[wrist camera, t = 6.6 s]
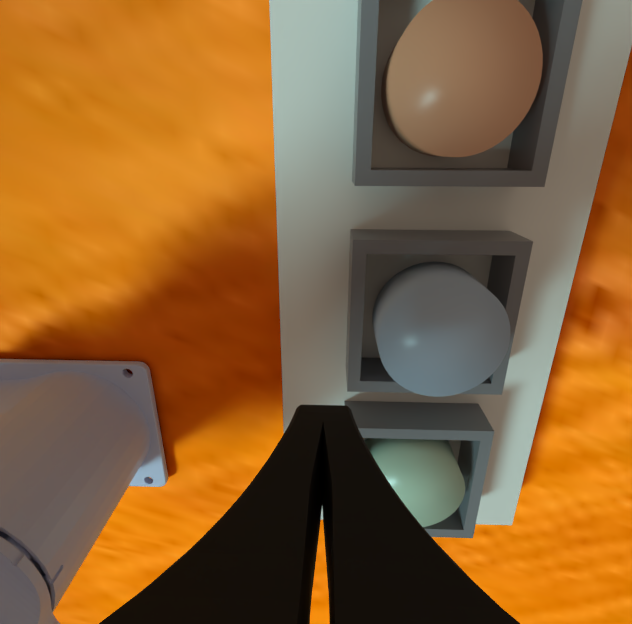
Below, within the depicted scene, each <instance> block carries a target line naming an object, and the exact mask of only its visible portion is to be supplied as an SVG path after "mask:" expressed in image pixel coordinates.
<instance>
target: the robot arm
mask: <svg viewBox="0 0 632 624" xmlns="http://www.w3.org/2000/svg"><path fill="white" fill-rule="evenodd" d="M126 369H130V370H131V371H132V373H133V374H130V373H128V372H127V370H126ZM149 477H151V478H152V479H151V478H149ZM167 480H168V472H167V466H166V460H165V454H164V448H163V443H162V437H161V431H160V425H159V419H158V414H157V408H156V402H155V396H154V390H153V385H152V379H151V373H150V369H149V367H148V366H147V364H145V363H143V362H139V361H89V360H36V359H0V624H60V623H59V622H58V621H57V619H56V618H55V616H54V615H53V611H54V610H55V608H56V606H57V605H58V603H59V601H60V600H61V598H62V596H63V595H64V593H65V591H66V590H67V588H68V586H69V585H70V583H71V581H72V580H73V578H74V576H75V575H76V573H77V571H78V570H79V568H80V566H81V565H82V563H83V561H84V560H85V558H86V556H87V555H88V553H89V551H90V550H91V548H92V546H93V545H94V543H95V541H96V540H97V538H98V536H99V535H100V533H101V531H102V530H103V528H104V526H105V525H106V523H107V521H108V520H109V518H110V516H111V515H112V513H113V511H114V510H115V508H116V506H117V505H118V503H119V501H120V500H121V498H122V496H123V495H124V493H125V491H126V490H127V488H128V486H151V487H161V486H164V485H165V484H166V482H167ZM322 508H323V522H324V535H325V549H326V562H327V576H328V589H329V611H330V624H520V623H519V622H518V621H516V620H515V619H514V618H513V617H512V616H510V615H509V614H508V613H507V612H506V611H504V610H503V609H502V608H501V607H500V606H499V605H498V604H497V603H496V602H495V601H493V600H492V599H491V598H490V597H489V596H488V595H487V594H486V593H485V592H484V591H483V590H482V589H481V588H480V587H479V586H478V585H476V584H475V583H474V582H473V581H472V580H471V579H470V578H469V577H468V576H467V574H466V573H465V572H464V571H463V570H462V569H461V568H460V567H459V566H458V565H457V564H456V563H455V562H454V561H453V560H452V559H451V558H450V557H449V556H448V555H447V554H446V553H445V552H444V551H443V550H442V548H441V547H440V546H439V545H438V544H437V543H436V542H435V541H434V540H433V539H432V537H431V536H430V535H429V534H428V533H427V532H426V530H425V529H424V528H423V527H422V526H421V525H420V523H419V522H418V521H417V520H416V518H415V517H414V516H413V515H412V513H411V512H410V511H409V510H408V508H407V507H406V506H405V504H404V503H403V502H402V500H401V499H400V498H399V496H398V495H397V493H396V492H395V491H394V489H393V488H392V486H391V485H390V483H389V482H388V480H387V479H386V477H385V476H384V474H383V472H382V471H381V469H380V468H379V466H378V464H377V463H376V461H375V459H374V458H373V456H372V454H371V452H370V451H369V449H368V447H367V445H366V443H365V441H364V439H363V437H362V435H361V433H360V431H359V429H358V427H357V425H356V422H355V420H354V417H353V414H352V411H351V409H350V408H349V407H348V406H345V405H299V406H298V407H297V408H296V410H295V413H294V415H293V418H292V420H291V422H290V424H289V426H288V428H287V429H286V431H285V433H284V435H283V437H282V438H281V440H280V441H279V443H278V445H277V446H276V448H275V449H274V451H273V453H272V454H271V456H270V457H269V459H268V460H267V462H266V463H265V464H264V466H263V467H262V469H261V470H260V471H259V473H258V474H257V475H256V477H255V478H254V480H253V481H252V482H251V484H250V485H249V486H248V487H247V489H246V490H245V491H244V492H243V494H242V495H241V496H240V497H239V498H238V500H237V501H236V502H235V503H234V504H233V505H232V506H231V508H230V509H229V510H228V511H227V512H226V513H225V514H224V515H223V517H222V518H221V519H220V520H219V521H218V522H217V523H216V524H215V525H214V526H213V527H212V528H211V529H210V530H209V531H208V532H207V533H206V534H205V535H204V536H203V537H202V538H201V539H200V540H199V541H198V542H197V543H196V544H195V545H194V546H193V547H192V548H191V549H190V550H189V551H188V552H186V553H185V554H184V555H183V556H182V557H181V558H180V559H178V560H177V561H176V562H175V563H174V564H173V565H172V566H170V567H169V568H168V569H167V570H166V571H165V572H164V573H162V574H161V575H160V576H159V577H158V578H157V579H156V580H154V581H153V582H152V583H151V584H150V585H149V586H147V587H146V588H145V589H144V590H142V591H141V592H140V593H139V594H137V595H136V596H135V597H133V598H132V599H131V600H130V601H128V602H127V603H126V604H124V605H123V606H122V607H120V608H119V609H118V610H116V611H115V612H114V613H112V614H111V615H110V616H108V617H107V618H106V619H104V620H103V621H102V622H100V623H99V624H309V623H310V607H311V595H312V587H313V578H314V570H315V561H316V553H317V545H318V536H319V528H320V519H321V511H322Z"/></svg>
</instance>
